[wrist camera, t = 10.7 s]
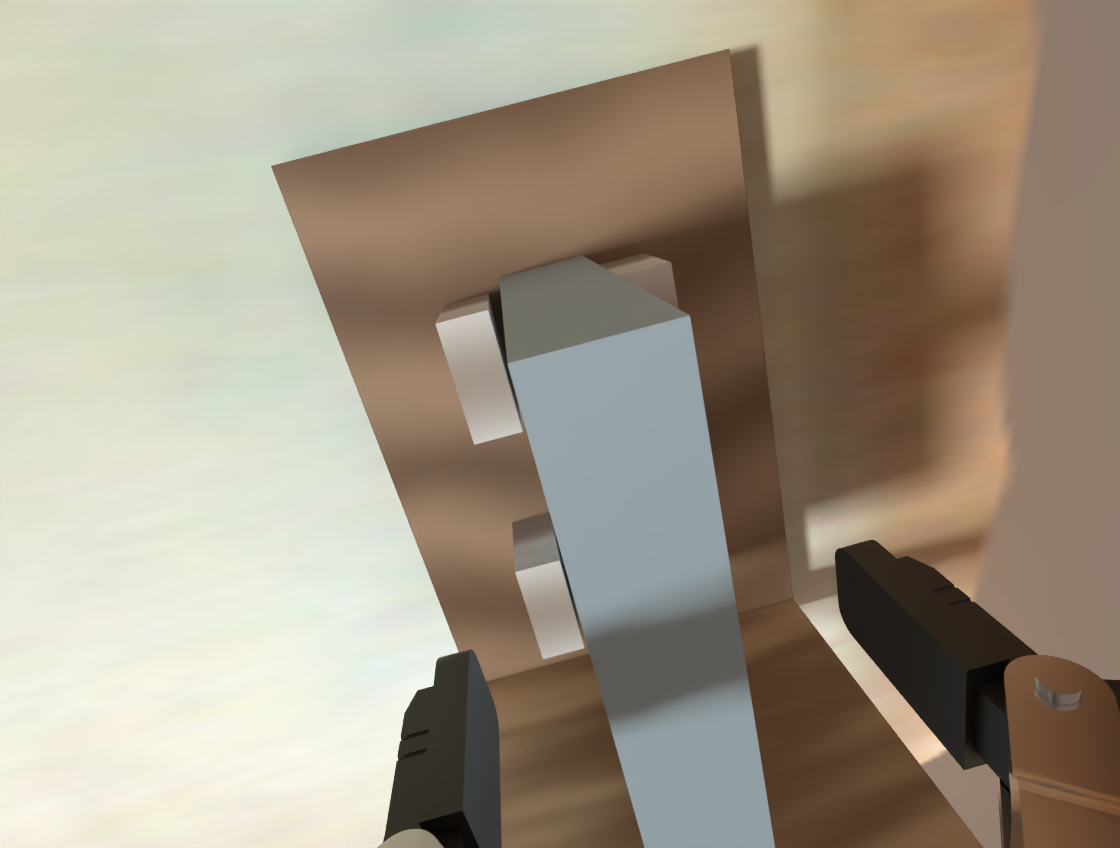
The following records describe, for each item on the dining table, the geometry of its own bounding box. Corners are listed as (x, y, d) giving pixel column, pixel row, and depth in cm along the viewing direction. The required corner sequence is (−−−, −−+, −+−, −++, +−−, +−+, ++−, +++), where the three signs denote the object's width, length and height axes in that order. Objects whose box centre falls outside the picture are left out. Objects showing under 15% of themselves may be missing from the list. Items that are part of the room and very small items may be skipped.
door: (498, 277, 21) (507, 363, 9) (604, 249, 21) (738, 302, 9) (586, 598, 26) (660, 904, 14) (671, 575, 26) (809, 861, 14)
